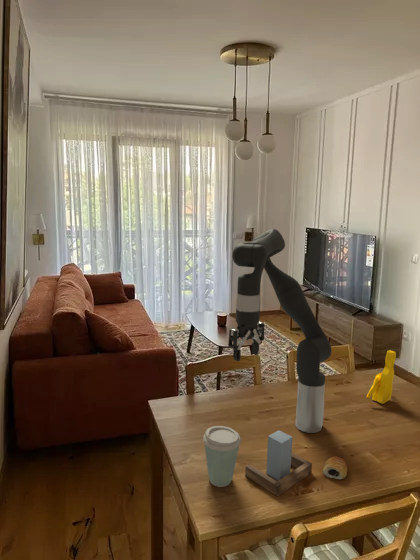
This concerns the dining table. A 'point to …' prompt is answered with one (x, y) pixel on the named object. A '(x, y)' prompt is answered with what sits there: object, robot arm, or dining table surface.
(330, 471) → the pastry
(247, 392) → the dining table surface
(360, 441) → the dining table surface
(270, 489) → the walnut bay
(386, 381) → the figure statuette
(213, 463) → the disposable coffee cup
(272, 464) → the slate block
